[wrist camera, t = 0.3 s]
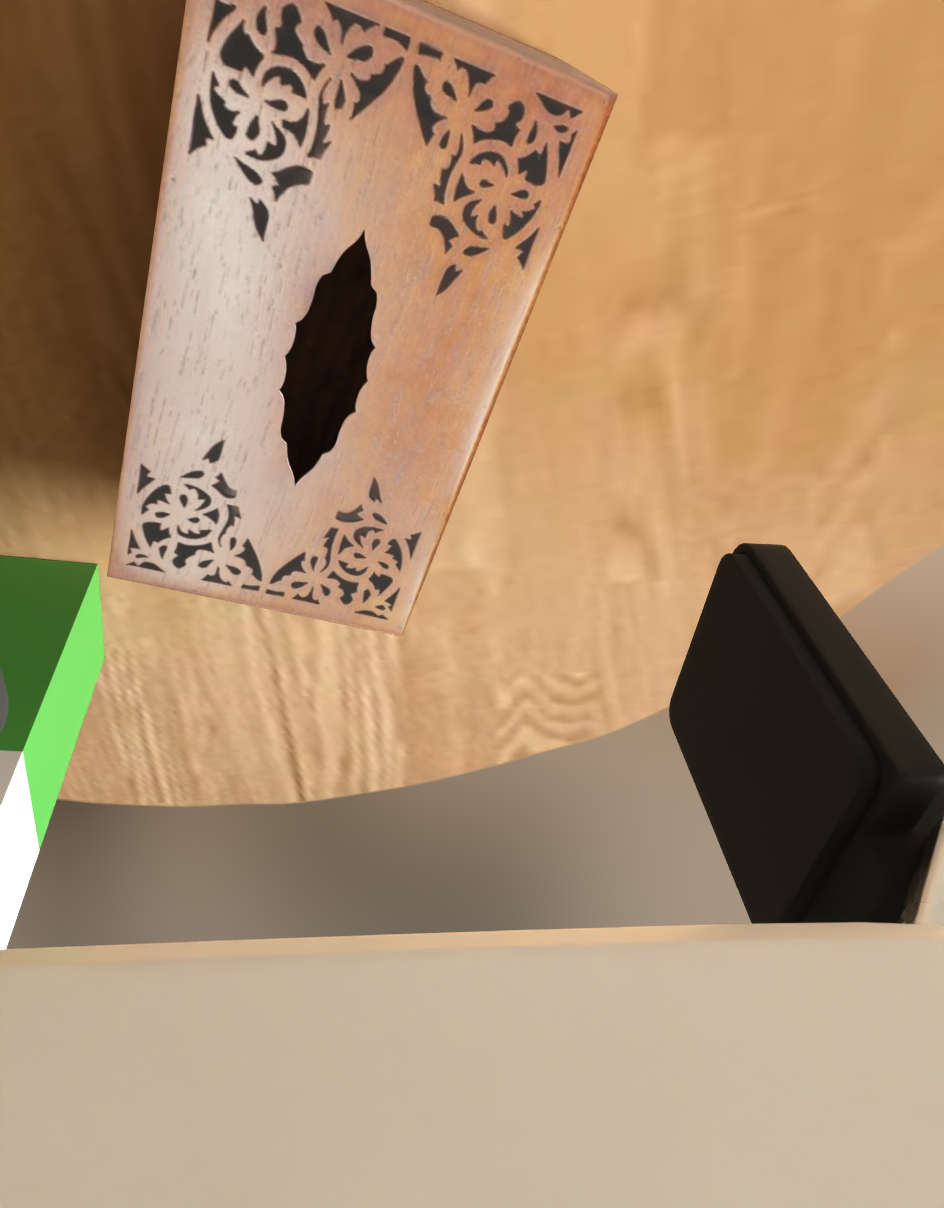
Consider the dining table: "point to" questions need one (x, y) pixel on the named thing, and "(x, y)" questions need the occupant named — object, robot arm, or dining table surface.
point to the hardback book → (41, 702)
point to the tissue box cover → (337, 294)
